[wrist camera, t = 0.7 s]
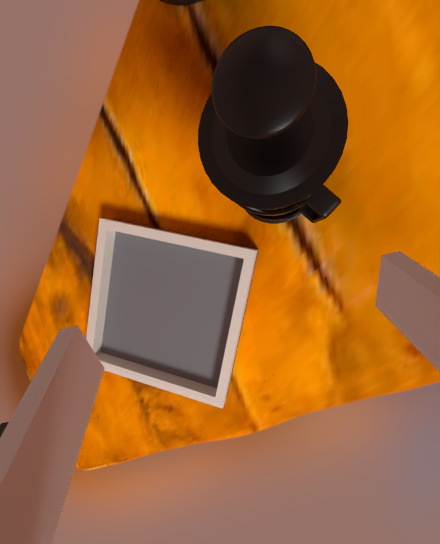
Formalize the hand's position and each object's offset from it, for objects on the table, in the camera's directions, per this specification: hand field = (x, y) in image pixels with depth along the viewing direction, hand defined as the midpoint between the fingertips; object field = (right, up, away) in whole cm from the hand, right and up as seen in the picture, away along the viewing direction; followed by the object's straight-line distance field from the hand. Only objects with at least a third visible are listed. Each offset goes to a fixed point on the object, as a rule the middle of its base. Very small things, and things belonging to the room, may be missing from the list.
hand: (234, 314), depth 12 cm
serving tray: (-8, -3, +26) cm, 27 cm away
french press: (+6, +12, +21) cm, 25 cm away
